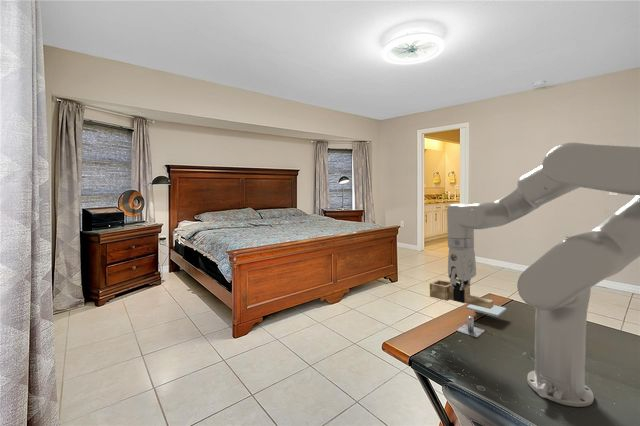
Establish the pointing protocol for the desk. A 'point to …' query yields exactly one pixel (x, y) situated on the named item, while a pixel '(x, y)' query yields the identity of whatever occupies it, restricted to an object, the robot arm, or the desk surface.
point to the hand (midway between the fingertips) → (461, 299)
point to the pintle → (470, 328)
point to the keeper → (487, 310)
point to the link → (445, 292)
